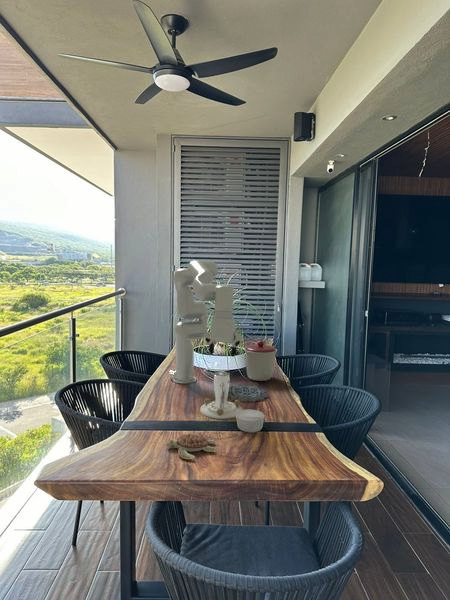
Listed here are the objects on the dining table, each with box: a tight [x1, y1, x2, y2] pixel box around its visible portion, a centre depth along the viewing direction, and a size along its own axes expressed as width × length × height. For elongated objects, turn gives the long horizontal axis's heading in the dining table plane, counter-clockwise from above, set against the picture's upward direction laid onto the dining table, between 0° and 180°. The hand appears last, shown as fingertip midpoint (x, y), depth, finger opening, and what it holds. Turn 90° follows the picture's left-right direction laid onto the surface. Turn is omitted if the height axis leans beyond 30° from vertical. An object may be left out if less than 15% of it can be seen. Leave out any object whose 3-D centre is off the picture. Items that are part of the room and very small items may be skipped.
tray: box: [199, 397, 244, 420], centre depth 168 cm, size 18×18×4 cm
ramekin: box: [235, 408, 265, 433], centre depth 152 cm, size 11×11×5 cm
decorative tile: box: [228, 384, 269, 403], centre depth 189 cm, size 20×20×2 cm
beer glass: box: [213, 371, 231, 410], centre depth 168 cm, size 7×7×15 cm
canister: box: [243, 340, 278, 382], centre depth 216 cm, size 18×18×21 cm
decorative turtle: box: [166, 433, 217, 460], centre depth 134 cm, size 18×17×5 cm
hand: (222, 354), depth 166 cm, fingers open, 9 cm apart
